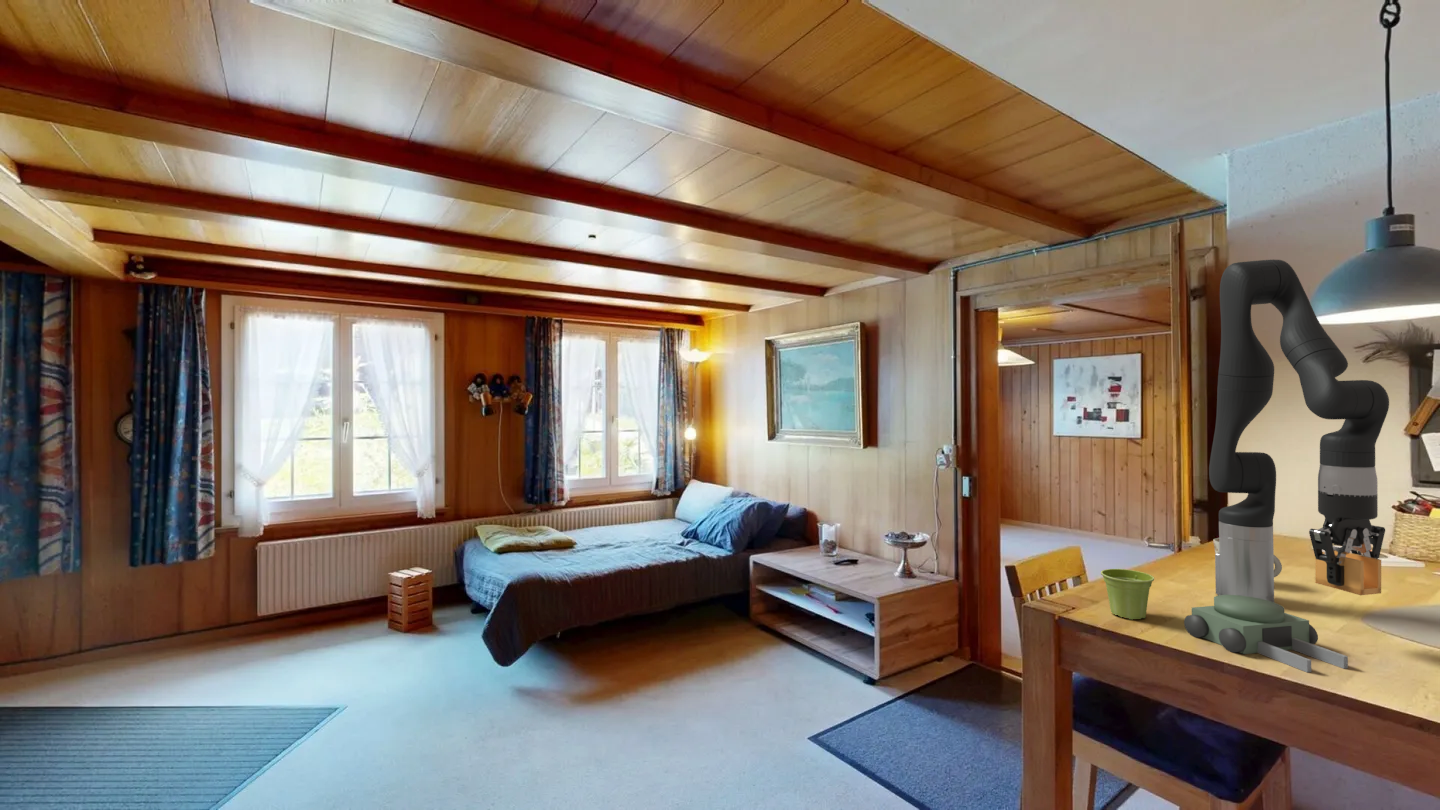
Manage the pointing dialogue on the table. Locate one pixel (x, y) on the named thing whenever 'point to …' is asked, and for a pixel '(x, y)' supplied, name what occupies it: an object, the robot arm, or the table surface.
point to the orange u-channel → (1354, 574)
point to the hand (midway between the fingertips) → (1347, 582)
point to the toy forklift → (1259, 631)
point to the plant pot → (1127, 592)
